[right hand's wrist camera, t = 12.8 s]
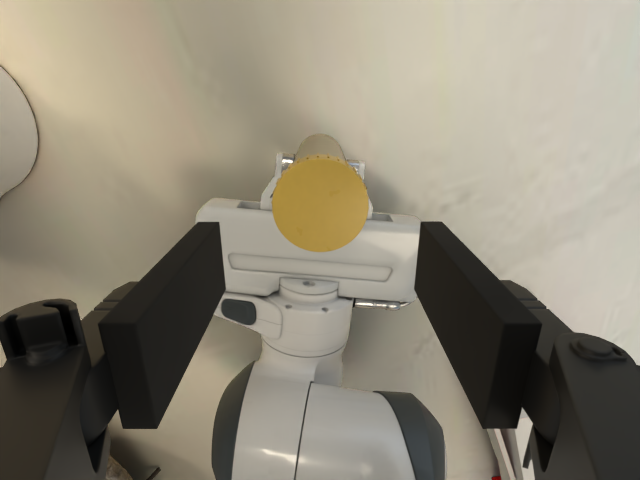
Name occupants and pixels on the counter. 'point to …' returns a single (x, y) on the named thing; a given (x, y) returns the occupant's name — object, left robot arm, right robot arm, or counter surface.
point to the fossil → (121, 471)
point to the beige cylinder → (319, 147)
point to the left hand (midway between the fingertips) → (320, 157)
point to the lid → (320, 203)
